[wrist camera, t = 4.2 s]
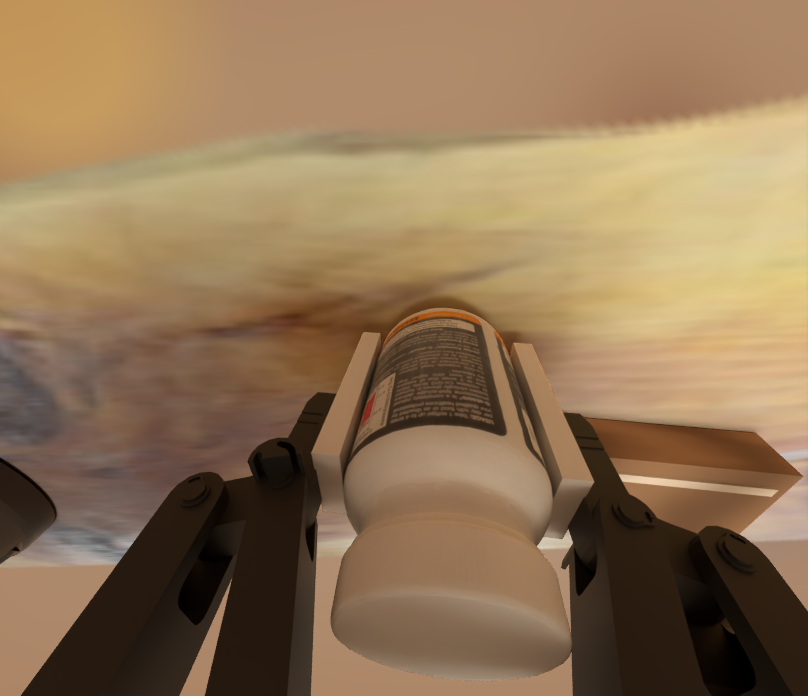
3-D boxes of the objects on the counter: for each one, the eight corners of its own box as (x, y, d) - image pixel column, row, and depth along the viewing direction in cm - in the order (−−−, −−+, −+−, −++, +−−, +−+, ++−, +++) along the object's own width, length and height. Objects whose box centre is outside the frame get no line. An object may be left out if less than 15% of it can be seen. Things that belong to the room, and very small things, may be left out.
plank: (369, 468, 21) (360, 505, 18) (365, 398, 17) (353, 434, 15) (694, 502, 19) (726, 547, 17) (755, 433, 16) (805, 478, 14)
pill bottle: (363, 377, 16) (271, 644, 7) (415, 278, 13) (360, 536, 4) (464, 421, 16) (486, 705, 8) (535, 338, 13) (686, 650, 5)
